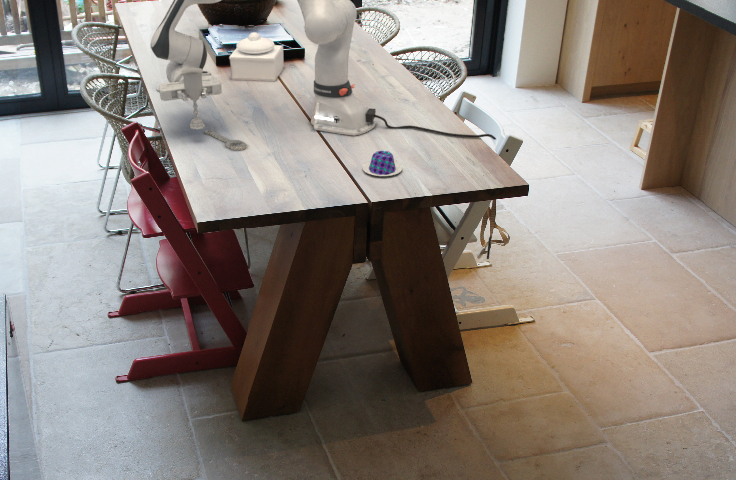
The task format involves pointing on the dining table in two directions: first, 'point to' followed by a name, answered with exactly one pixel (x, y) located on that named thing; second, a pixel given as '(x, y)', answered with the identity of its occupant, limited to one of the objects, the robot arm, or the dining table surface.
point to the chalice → (194, 92)
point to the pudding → (382, 164)
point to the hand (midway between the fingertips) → (195, 97)
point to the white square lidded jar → (256, 59)
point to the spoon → (228, 141)
